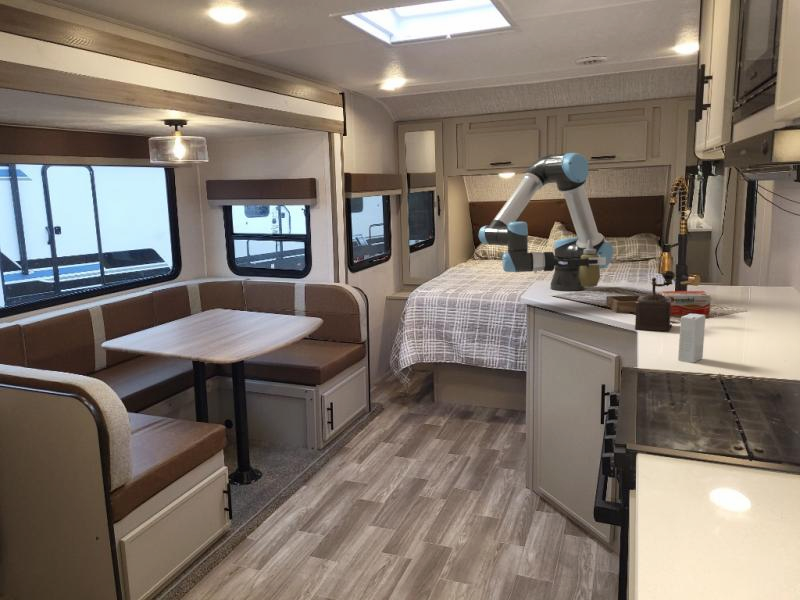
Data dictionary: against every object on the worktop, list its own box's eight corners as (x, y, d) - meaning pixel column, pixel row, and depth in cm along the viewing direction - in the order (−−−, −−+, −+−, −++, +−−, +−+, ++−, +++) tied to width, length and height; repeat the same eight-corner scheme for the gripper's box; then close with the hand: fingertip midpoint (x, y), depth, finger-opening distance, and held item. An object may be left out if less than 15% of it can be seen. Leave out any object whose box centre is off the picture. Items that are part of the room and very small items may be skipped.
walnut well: (606, 306, 241) (606, 296, 240) (640, 305, 241) (640, 295, 240) (616, 312, 228) (617, 302, 228) (652, 312, 228) (653, 301, 227)
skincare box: (686, 356, 169) (688, 312, 167) (703, 358, 166) (706, 314, 164) (677, 360, 165) (679, 316, 163) (694, 363, 162) (696, 318, 160)
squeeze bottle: (573, 285, 244) (574, 239, 241) (589, 283, 247) (591, 238, 244) (588, 288, 237) (589, 241, 233) (604, 286, 240) (605, 239, 237)
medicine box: (664, 316, 220) (665, 294, 219) (659, 312, 228) (660, 290, 226) (709, 317, 217) (711, 294, 216) (703, 312, 225) (704, 290, 224)
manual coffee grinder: (671, 332, 197) (673, 276, 193) (634, 329, 201) (636, 275, 198) (673, 322, 210) (675, 269, 207) (638, 320, 215) (640, 268, 212)
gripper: (538, 268, 251) (595, 266, 250) (547, 274, 232) (610, 272, 231) (538, 249, 250) (596, 247, 249) (548, 254, 231) (610, 252, 230)
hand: (602, 260), depth 240 cm, fingers closed on squeeze bottle, 6 cm apart
